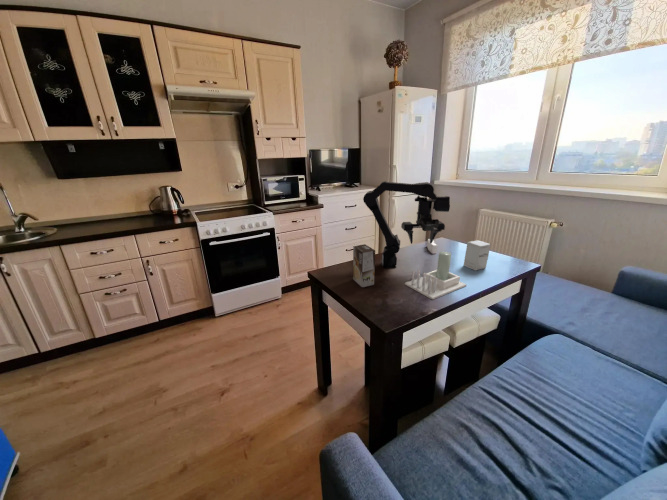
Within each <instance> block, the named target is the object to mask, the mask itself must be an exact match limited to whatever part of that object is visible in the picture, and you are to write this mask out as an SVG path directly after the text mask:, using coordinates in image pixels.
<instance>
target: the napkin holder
mask: <svg viewBox="0 0 667 500" xmlns="http://www.w3.org/2000/svg"><path fill="white" fill-rule="evenodd" d="M426 247H427V250H428V251H429V252H430V253H431V254H433V255H435V254H437V252H438V244H436V241H435V240H434V239H433V241H432V243H430V238H428V239H427V244H426Z"/></svg>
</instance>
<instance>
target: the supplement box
mask: <svg viewBox="0 0 667 500" xmlns="http://www.w3.org/2000/svg"><path fill="white" fill-rule="evenodd" d="M490 248H491V243H488V242H486V241H482V240H478V239H477V240H471V241H468V242H467V243H466V250H465V255H464V259H463V261H464V262H463V266H464V267H467V268H469V269H471V270H473V271H478V270H483V269H486V268H487V263H488V260H489V253H490Z"/></svg>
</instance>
